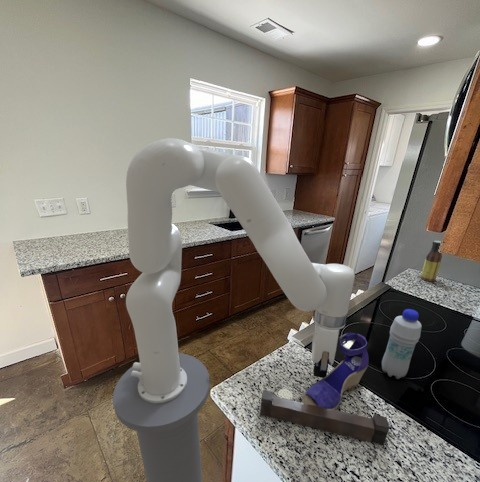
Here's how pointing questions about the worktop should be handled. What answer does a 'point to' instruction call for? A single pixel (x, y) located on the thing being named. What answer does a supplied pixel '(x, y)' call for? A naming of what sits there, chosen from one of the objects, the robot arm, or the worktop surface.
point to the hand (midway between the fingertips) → (319, 374)
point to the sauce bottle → (432, 263)
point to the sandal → (340, 374)
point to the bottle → (401, 343)
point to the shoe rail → (325, 418)
